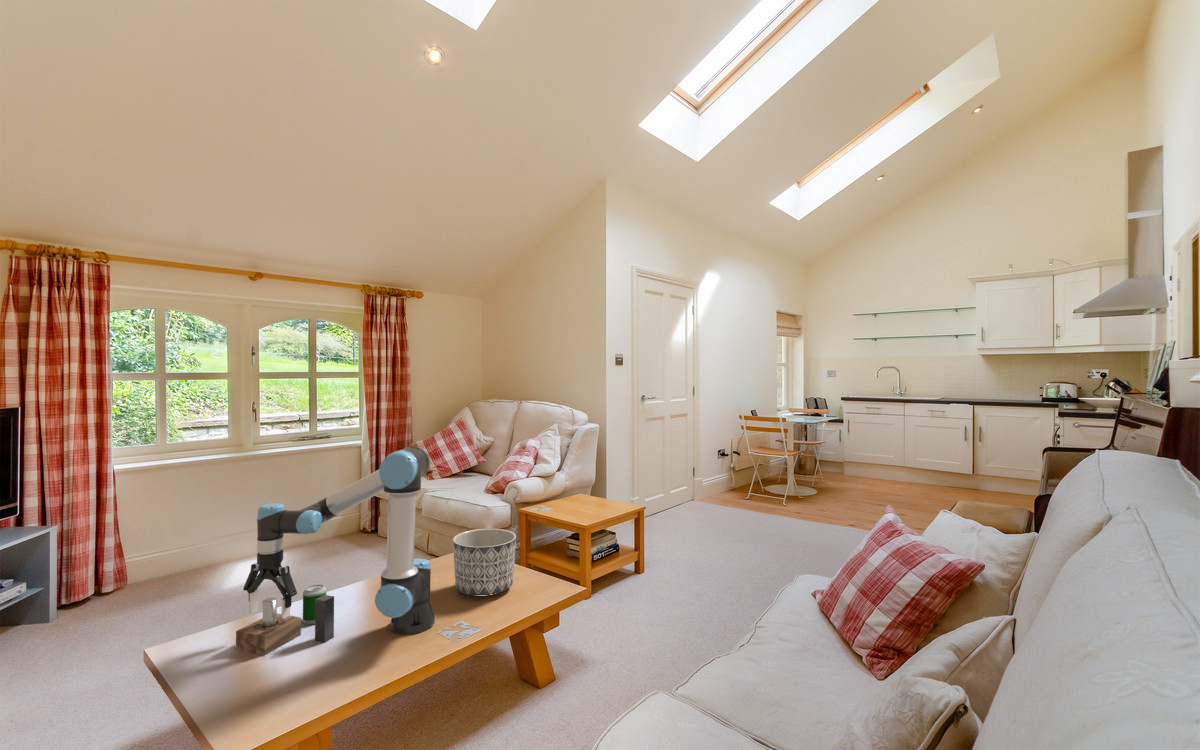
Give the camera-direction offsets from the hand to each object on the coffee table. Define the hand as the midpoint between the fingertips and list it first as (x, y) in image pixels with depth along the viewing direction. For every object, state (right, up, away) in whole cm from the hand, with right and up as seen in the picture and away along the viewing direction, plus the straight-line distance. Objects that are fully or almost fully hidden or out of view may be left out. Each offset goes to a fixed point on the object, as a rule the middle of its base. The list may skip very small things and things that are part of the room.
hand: (269, 614), depth 177 cm
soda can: (+7, -10, +16) cm, 20 cm away
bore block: (0, -9, 0) cm, 9 cm away
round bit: (0, -9, 0) cm, 9 cm away
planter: (+62, -10, +45) cm, 78 cm away
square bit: (+17, -9, +2) cm, 20 cm away
